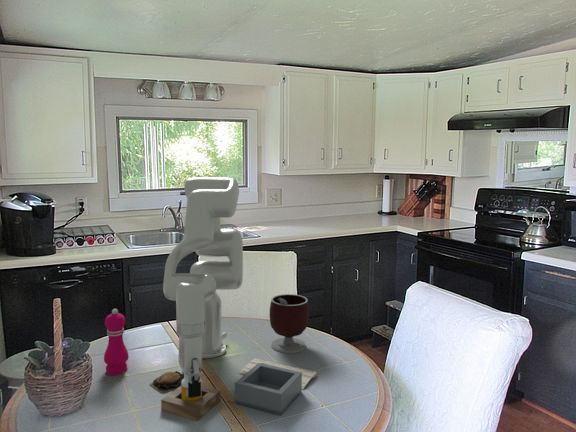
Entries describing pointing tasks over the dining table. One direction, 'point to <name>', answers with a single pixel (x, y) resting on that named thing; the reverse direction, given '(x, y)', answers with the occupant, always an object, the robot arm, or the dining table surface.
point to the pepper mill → (115, 344)
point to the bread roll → (167, 382)
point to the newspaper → (305, 373)
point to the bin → (268, 388)
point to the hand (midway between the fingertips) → (191, 388)
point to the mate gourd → (289, 321)
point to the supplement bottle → (185, 389)
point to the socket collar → (191, 403)
